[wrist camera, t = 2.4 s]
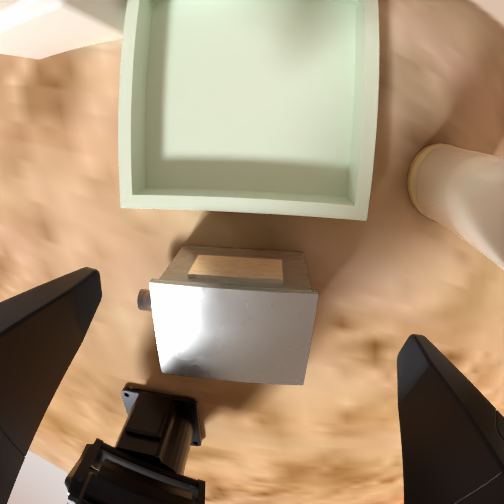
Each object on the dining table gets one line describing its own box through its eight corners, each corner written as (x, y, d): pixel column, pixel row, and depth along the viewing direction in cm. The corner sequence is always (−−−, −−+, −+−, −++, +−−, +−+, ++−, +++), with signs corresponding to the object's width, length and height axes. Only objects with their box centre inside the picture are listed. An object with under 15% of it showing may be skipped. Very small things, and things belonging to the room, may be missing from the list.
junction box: (297, 327, 21) (303, 385, 16) (158, 316, 21) (130, 368, 16) (307, 249, 19) (318, 294, 14) (151, 240, 19) (113, 279, 14)
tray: (354, 208, 18) (366, 220, 15) (138, 197, 18) (121, 208, 16) (364, 0, 13) (377, -16, 11) (146, -3, 14) (130, -17, 11)
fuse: (463, 222, 17) (580, 307, 7) (402, 214, 18) (515, 311, 7) (473, 150, 16) (611, 191, 5) (411, 136, 16) (552, 163, 6)
